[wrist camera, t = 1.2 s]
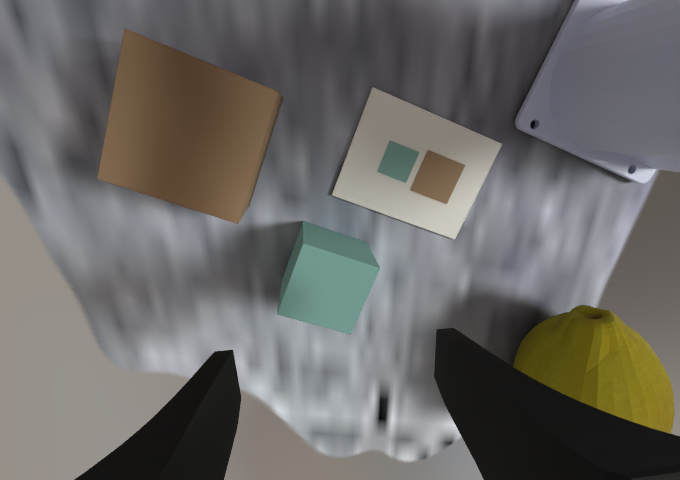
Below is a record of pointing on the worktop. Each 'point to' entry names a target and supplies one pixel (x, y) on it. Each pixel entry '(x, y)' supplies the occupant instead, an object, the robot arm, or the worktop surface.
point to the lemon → (599, 366)
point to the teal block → (327, 279)
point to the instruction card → (414, 165)
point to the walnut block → (186, 129)
